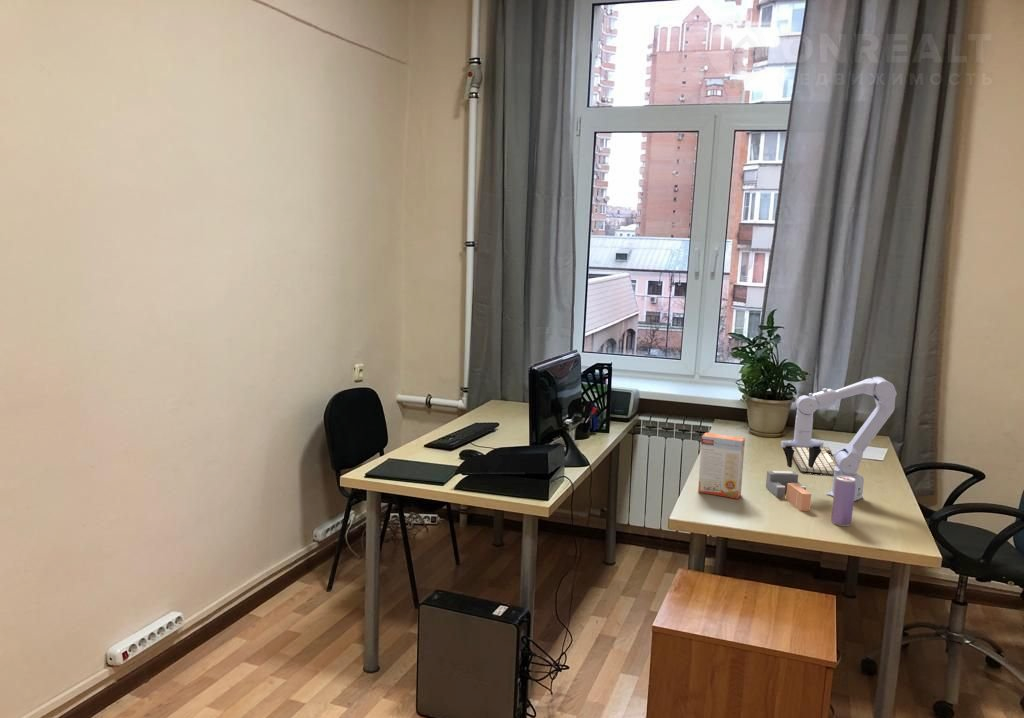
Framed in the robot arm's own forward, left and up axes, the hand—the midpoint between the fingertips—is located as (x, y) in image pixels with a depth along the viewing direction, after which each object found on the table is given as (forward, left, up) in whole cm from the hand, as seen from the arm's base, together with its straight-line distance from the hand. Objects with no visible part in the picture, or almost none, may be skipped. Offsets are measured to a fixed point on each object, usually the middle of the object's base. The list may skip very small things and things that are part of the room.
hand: (799, 466), depth 266 cm
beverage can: (-24, +16, -10) cm, 31 cm away
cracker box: (+16, +24, -10) cm, 31 cm away
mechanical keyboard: (+15, -41, -10) cm, 45 cm away
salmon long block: (-7, +12, -10) cm, 17 cm away
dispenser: (+2, +4, -9) cm, 11 cm away
